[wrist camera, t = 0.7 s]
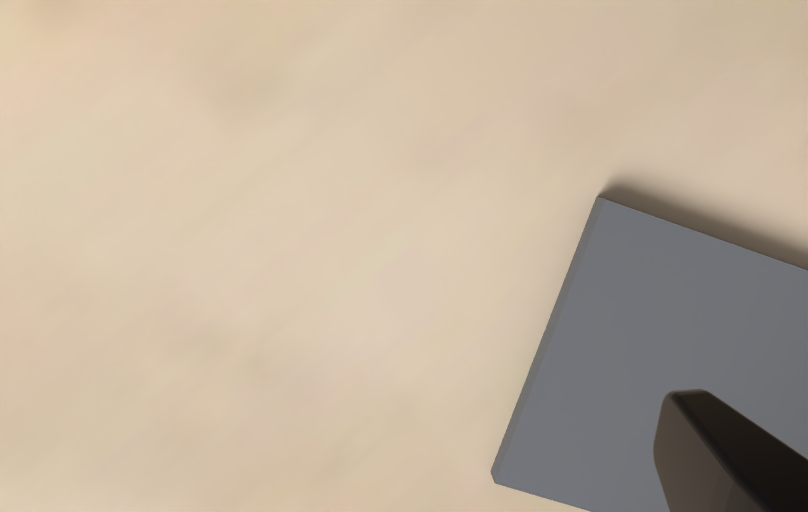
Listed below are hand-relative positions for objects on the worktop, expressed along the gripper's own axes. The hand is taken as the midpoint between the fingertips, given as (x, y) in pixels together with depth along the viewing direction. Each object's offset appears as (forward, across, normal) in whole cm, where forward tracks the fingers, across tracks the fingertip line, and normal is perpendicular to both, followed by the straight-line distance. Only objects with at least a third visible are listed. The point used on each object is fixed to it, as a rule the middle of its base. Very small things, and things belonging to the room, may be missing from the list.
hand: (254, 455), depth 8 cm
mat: (+12, -12, +11) cm, 20 cm away
